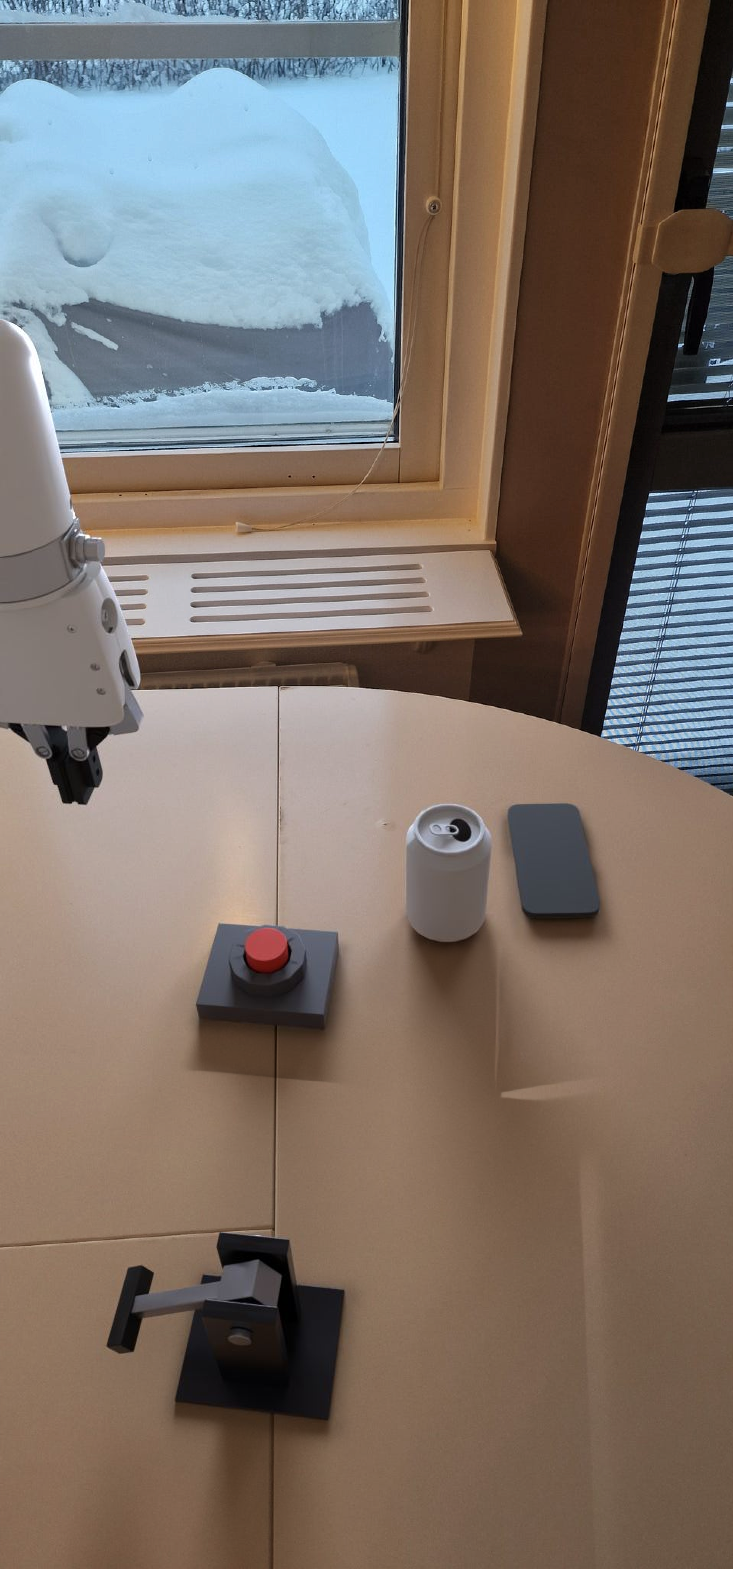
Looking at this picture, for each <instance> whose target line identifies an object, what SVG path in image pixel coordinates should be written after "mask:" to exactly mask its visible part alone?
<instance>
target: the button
mask: <svg viewBox="0 0 733 1569" xmlns="http://www.w3.org/2000/svg"><path fill="white" fill-rule="evenodd" d="M245 951H246V957H247V962H248V965H249V966H250V967H251V968H252V969H253V970H254V971H256V972H259V973H272V972H275V971H278V970H279V969H281V968H282V967H283V966H284V965H285V964H286V962H287V960H288V948H287V940H286V937H285V936H284V935H283V933H281V932H280V931H278V930H276V929H273V928H262V929H259V930H256V931H254V932H253V933H252V934H250V935H249V936H248V938H247V940H246V942H245Z"/></svg>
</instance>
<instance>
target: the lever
mask: <svg viewBox="0 0 733 1569" xmlns="http://www.w3.org/2000/svg"><path fill="white" fill-rule="evenodd" d="M154 1275H155V1272H154V1271H153V1270H151V1269H149V1268H147V1267H146V1266H144V1265H142V1264H140V1265H134V1266H130V1267H128V1268H127V1269H126V1274H125V1277H124V1280H123V1284H122V1288H121V1292H120V1295H119V1298H118V1302H117V1306H116V1309H115V1313H114V1317H113V1319H112V1324H111V1327H110V1331H109V1334H108V1337H107V1342H106V1346H105V1347H106V1348H108V1349H109V1350H112V1351H113V1352H114V1353H117V1354H119V1355H122V1354H129V1353H134V1352H135V1349H136V1346H137V1341H138V1338H139V1334H140V1330H141V1326H142V1323H143V1319H148V1318H154V1317H160V1316H166V1315H173V1314H179V1313H184V1312H190V1311H195V1310H198V1309H203V1305H204V1301H205V1299H210V1300H219V1301H228V1302H237V1303H246V1304H255V1305H264V1306H273V1307H277V1302H278V1296H279V1290H280V1284H281V1278H282V1275H281V1274H279V1273H278V1272H276V1271H275V1270H273V1269H272V1268H270V1267H269V1266H267V1265H266V1264H265V1263H263V1262H262V1261H260V1260H253V1261H247V1262H242V1263H237V1264H231V1265H226V1266H224V1267H223V1269H222V1272H221V1276H222V1277H221V1281H220V1282H214V1283H208V1284H202V1285H201V1284H198V1285H191V1286H186V1287H181V1288H174V1289H168V1290H163V1291H157V1292H152V1293H150V1291H151V1287H152V1284H153V1279H154Z"/></svg>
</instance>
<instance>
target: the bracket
mask: <svg viewBox="0 0 733 1569" xmlns="http://www.w3.org/2000/svg"><path fill="white" fill-rule="evenodd" d="M215 1248H216V1251H217V1253H218V1258H219V1262H220V1265H221V1266H220V1267H221V1268H222V1270H223V1267H224V1266H226V1265H231V1264H237V1263H242V1262H247V1261H253V1260H260V1261H262V1262H263V1263H265V1264H266V1265H267V1266H269V1267H270V1268H272V1269H273V1270H275V1271H276V1272H278V1273H279V1274H281V1275H282V1278H281V1284H280V1290H279V1296H278V1302H277V1307H273V1306H264V1305H255V1304H246V1303H237V1302H228V1301H219V1300H210V1299H205V1301H204V1305H203V1309H198V1310H194V1312H193V1317H192V1321H191V1326H190V1329H189V1335H188V1338H187V1343H186V1347H185V1352H184V1356H183V1361H182V1366H181V1370H180V1374H179V1378H178V1384H177V1387H176V1393H175V1397H174V1401H175V1403H180V1404H190V1405H197V1406H206V1407H214V1408H221V1409H222V1408H223V1409H232V1410H239V1411H247V1412H255V1413H264V1414H271V1415H279V1416H280V1415H281V1416H289V1417H296V1418H304V1419H313V1420H320V1421H321V1420H322V1421H329V1420H330V1412H331V1406H332V1405H331V1404H332V1398H333V1397H332V1395H333V1387H334V1381H335V1370H336V1362H337V1356H338V1347H339V1340H340V1331H341V1324H342V1315H343V1309H344V1308H343V1307H344V1299H345V1292H346V1291H345V1289H344V1288H338V1287H337V1288H336V1287H327V1286H317V1285H308V1284H300V1283H297V1277H296V1270H295V1265H294V1259H293V1253H292V1246H291V1241H290V1239H289V1238H282V1237H272V1236H264V1235H259V1234H244V1233H234V1232H227V1231H220V1232H219V1233H218V1236H217V1242H216V1245H215ZM221 1277H222V1275H217V1274H216V1275H215V1274H209V1273H208V1274H207V1273H203V1274H202V1277H201V1281H200V1285H202V1284H208V1283H214V1282H220V1281H221Z"/></svg>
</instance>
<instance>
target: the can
mask: <svg viewBox="0 0 733 1569" xmlns="http://www.w3.org/2000/svg"><path fill="white" fill-rule="evenodd" d="M492 845H493V843H492V835H491V833H490V831H489V829H488V828H487V826H486V825H485V822H484V821H483V819H482V818H481V816H480V815H479V814H478V813H477V812H476V811H474V810H473V809H471V808H469V807H466V806H465V805H461V804H455V803H440V804H436V805H431V806H430V807H428V808H426V809H424V810H422V811H421V812H420V813H419V814H418V815H417V816H416V817H415V820H414V822H413V823H412V824H411V825H410V826H409V828H408V830H407V833H406V836H405V917H406V919H407V921H408V923H409V925H410V926H411V928H412V929H413V930H414V931H416V932H417V934H418V935H421V936H423V937H425V938H426V939H428V940H432V941H436V942H441V943H451V942H452V943H453V942H454V943H455V942H459V941H462V940H466V939H468V938H469V937H471V936H472V935H474V934H476V933H477V932H478V931H479V930H480V928H481V927H482V926H483V925H484V922H485V918H486V915H487V905H488V892H489V882H490V869H491V860H492Z"/></svg>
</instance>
